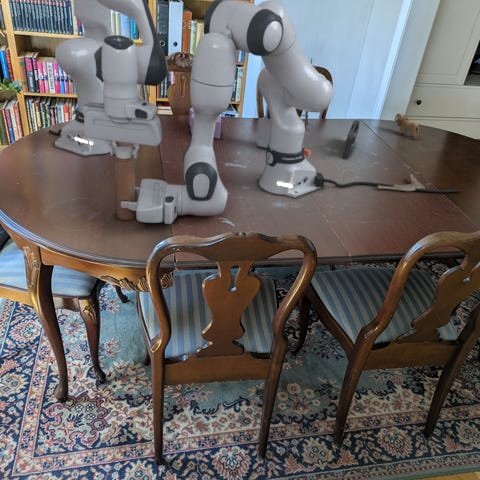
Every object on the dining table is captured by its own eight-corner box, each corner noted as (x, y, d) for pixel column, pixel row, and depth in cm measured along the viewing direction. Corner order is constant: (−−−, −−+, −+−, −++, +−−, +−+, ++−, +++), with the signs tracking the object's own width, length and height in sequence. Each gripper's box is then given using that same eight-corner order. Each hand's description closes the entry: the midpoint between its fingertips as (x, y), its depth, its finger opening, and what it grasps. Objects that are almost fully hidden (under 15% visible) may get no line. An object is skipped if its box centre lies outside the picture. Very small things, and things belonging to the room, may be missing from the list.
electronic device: (288, 147, 193) (299, 72, 177) (283, 153, 187) (295, 76, 171) (259, 141, 196) (268, 67, 179) (254, 147, 190) (262, 71, 173)
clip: (182, 123, 206) (183, 107, 202) (209, 122, 210) (210, 106, 207) (197, 140, 191) (197, 123, 187) (225, 138, 195) (226, 122, 191)
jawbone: (429, 189, 172) (431, 184, 171) (394, 201, 161) (396, 196, 160) (410, 177, 177) (412, 172, 176) (375, 189, 167) (376, 184, 165)
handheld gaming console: (349, 160, 187) (354, 136, 182) (342, 158, 188) (347, 134, 183) (355, 142, 206) (361, 119, 201) (349, 140, 207) (354, 118, 201)
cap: (129, 159, 124) (128, 153, 123) (113, 157, 125) (113, 150, 124) (134, 153, 128) (134, 147, 127) (119, 151, 128) (118, 145, 127)
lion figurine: (389, 131, 222) (394, 113, 217) (394, 129, 226) (399, 111, 221) (418, 140, 215) (424, 121, 210) (423, 138, 218) (429, 119, 214)
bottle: (115, 211, 138) (112, 147, 127) (134, 209, 139) (132, 146, 129) (117, 220, 133) (114, 155, 123) (137, 218, 135) (135, 154, 124)
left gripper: (77, 104, 117) (82, 156, 124) (157, 114, 116) (157, 165, 123) (86, 97, 122) (90, 147, 129) (163, 107, 121) (163, 156, 129)
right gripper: (172, 174, 142) (125, 172, 140) (170, 207, 125) (117, 205, 123) (171, 192, 145) (126, 191, 143) (170, 227, 128) (118, 225, 126)
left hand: (124, 156), depth 126 cm, fingers closed on cap, 4 cm apart
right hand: (122, 198), depth 133 cm, fingers closed on bottle, 5 cm apart
